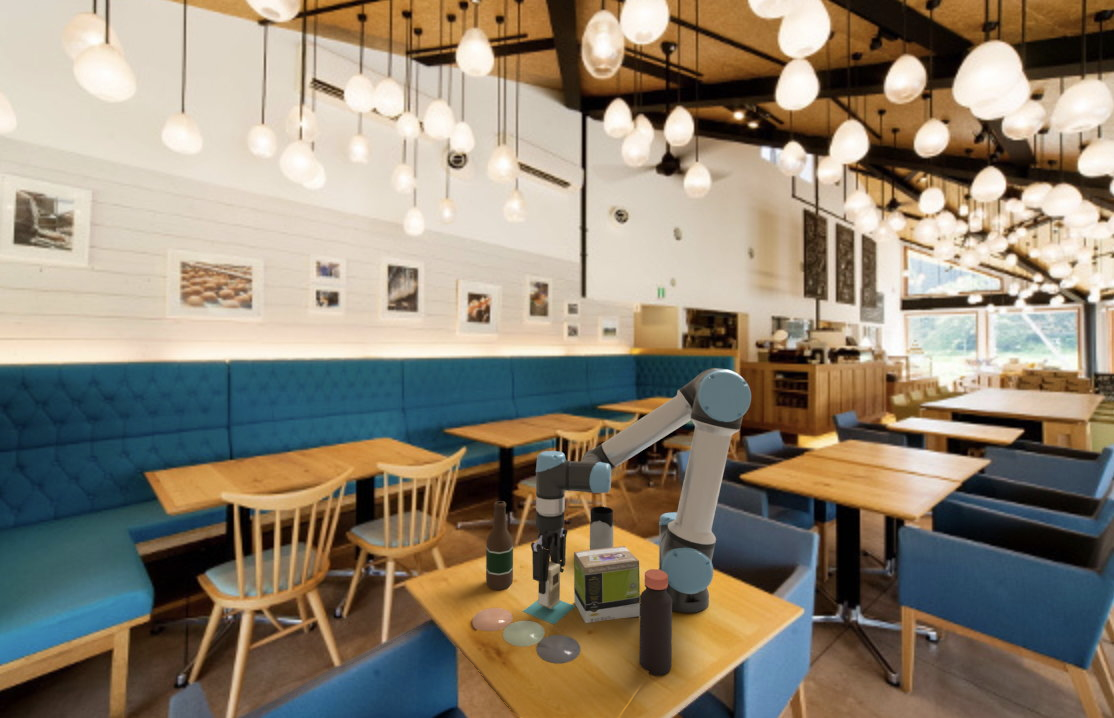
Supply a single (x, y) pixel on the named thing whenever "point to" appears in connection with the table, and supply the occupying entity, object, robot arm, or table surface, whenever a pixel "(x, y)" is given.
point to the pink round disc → (492, 619)
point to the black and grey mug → (601, 528)
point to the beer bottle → (499, 551)
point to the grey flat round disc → (558, 649)
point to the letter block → (553, 584)
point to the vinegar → (656, 624)
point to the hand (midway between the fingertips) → (549, 600)
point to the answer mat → (549, 611)
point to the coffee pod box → (606, 584)
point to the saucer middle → (523, 633)
